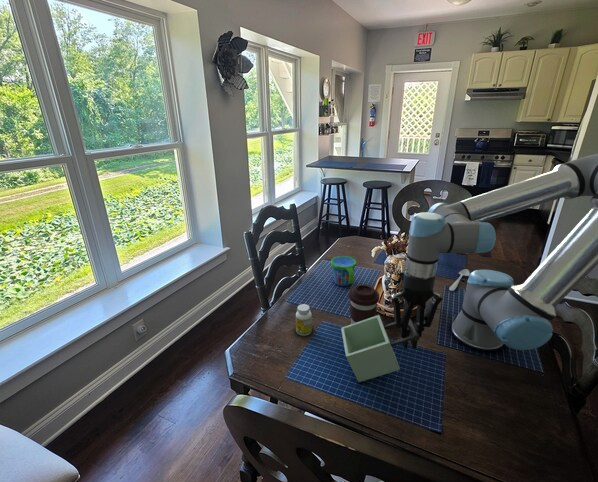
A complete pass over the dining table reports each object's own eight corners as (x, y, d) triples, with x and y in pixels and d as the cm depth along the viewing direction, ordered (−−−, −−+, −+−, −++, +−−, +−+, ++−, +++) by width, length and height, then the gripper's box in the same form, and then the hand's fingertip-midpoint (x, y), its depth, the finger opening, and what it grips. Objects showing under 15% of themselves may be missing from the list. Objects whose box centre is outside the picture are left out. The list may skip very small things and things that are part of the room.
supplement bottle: (314, 333, 108) (314, 309, 104) (300, 338, 106) (299, 314, 102) (307, 324, 113) (307, 301, 109) (293, 328, 110) (292, 305, 107)
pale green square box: (414, 331, 97) (405, 305, 93) (428, 360, 86) (419, 333, 82) (352, 351, 100) (340, 327, 96) (358, 382, 89) (346, 356, 85)
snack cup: (325, 275, 145) (326, 254, 141) (347, 272, 147) (348, 252, 143) (336, 293, 130) (337, 271, 127) (361, 290, 133) (362, 268, 129)
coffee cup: (376, 338, 105) (380, 299, 100) (346, 334, 107) (348, 296, 101) (376, 319, 114) (379, 283, 109) (348, 316, 116) (349, 280, 110)
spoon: (471, 273, 144) (472, 270, 143) (456, 292, 130) (456, 289, 129) (461, 270, 146) (462, 267, 146) (445, 289, 132) (446, 285, 131)
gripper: (443, 265, 85) (430, 336, 95) (387, 266, 86) (379, 336, 95) (455, 280, 78) (440, 354, 88) (394, 280, 79) (385, 355, 88)
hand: (408, 345), depth 91 cm, fingers closed on pale green square box, 2 cm apart
